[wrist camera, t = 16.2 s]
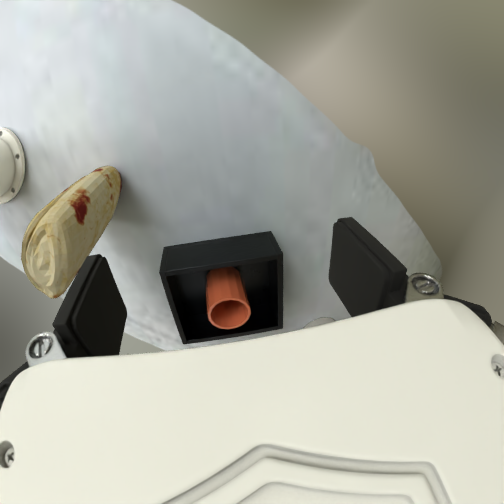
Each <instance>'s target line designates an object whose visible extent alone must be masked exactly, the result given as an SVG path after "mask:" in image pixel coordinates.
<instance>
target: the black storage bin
mask: <svg viewBox="0 0 504 504" xmlns="http://www.w3.org/2000/svg"><path fill="white" fill-rule="evenodd" d="M225 267H234V268H236V269H237V270H238V271H239V272H240V274H241V276H242V278H243V282H244V286H245V290H246V294H247V298H248V301H249V305H250V311H251V314H250V317H249V319H248V320H247V321H246V322H245V323H244V324H243V325H241V326H239V327H237V328H233V329H221V328H218V327H216V326H214V325H213V324H212V323H211V322H210V321H209V318H208V313H207V301H206V288H205V280H206V276H207V274H208V273H209V272H210V271H211V270H212V269H218V268H225ZM159 273H160V276H161V280H162V283H163V286H164V290H165V293H166V296H167V299H168V302H169V305H170V308H171V311H172V314H173V317H174V320H175V323H176V326H177V329H178V331H179V334H180V337H181V340H182V342H183V344H190V343H198V342H205V341H212V340H219V339H226V338H232V337H238V336H244V335H250V334H256V333H261V332H267V331H272V330H277V329H283V253H282V251H281V249H280V247H279V245H278V243H277V242H276V240H275V238H274V236H273V234H272V232H271V231H269V232H262V233H255V234H248V235H241V236H234V237H227V238H220V239H214V240H207V241H200V242H194V243H187V244H181V245H174V246H168V247H164V249H163V254H162V260H161V266H160V271H159Z"/></svg>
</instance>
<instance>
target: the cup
mask: <svg viewBox="0 0 504 504" xmlns="http://www.w3.org/2000/svg"><path fill="white" fill-rule="evenodd" d="M205 288H206V301H207V313H208V318H209V321H210V322H211V323H212V324H213V325H214V326H216V327H218V328H221V329H233V328H237V327H239V326H241V325H243V324H244V323H245V322H246V321H247V320H248V319H249V317H250V314H251V311H250V305H249V301H248V298H247V294H246V290H245V286H244V282H243V278H242V276H241V274H240V272H239V271H238V270H237V269H236V268H234V267H225V268H218V269H212V270H211V271H210V272H209V273H208V274H207V276H206V280H205Z"/></svg>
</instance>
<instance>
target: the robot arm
mask: <svg viewBox="0 0 504 504" xmlns="http://www.w3.org/2000/svg"><path fill="white" fill-rule="evenodd" d="M24 175H25V158H24V152H23V149H22V145H21V143H20V141H19V139H18V138H17V136H16V135H15V134H14V133H13V132H12V131H11V130H9V129H7V128H3V127H0V204H4V203H7V202H8V201H10V200H11V199H13V198H14V197H15V196H16V194H17V193H18V192H19V190H20V188H21V186H22V183H23V179H24ZM406 272H407V268H406V267H405V266H404V265H403V264H402V263H401V262H400V261H399V260H398V259H397V258H396V257H395V256H394V255H393V254H391V253H390V252H389V251H388V250H387V249H386V248H385V247H384V246H383V245H382V244H381V243H380V242H379V241H378V240H377V239H376V238H375V237H373V236H372V235H371V234H370V233H369V232H368V231H367V230H366V229H365V228H364V227H362V226H361V225H360V224H359V223H358V222H357V221H356V220H355V219H353V218H352V217H349V218H340V219H338V221H337V222H336V223H334V226H333V238H332V249H331V259H330V269H329V281H330V284H331V286H332V287H333V289H334V290H335V292H336V293H337V295H338V296H339V298H340V300H341V301H342V303H343V304H344V306H345V307H346V309H347V311H348V312H349V314H350V315H351V318H347V319H343V320H339V321H335V322H331V323H327V324H323V325H318V326H314V327H309V328H305V329H300V330H296V331H291V332H286V333H281V334H276V335H271V336H266V337H261V338H255V339H249V340H244V341H238V342H231V343H225V344H218V345H211V346H204V347H197V348H189V349H180V350H171V351H161V352H152V353H141V354H128V355H119V352H120V346H121V341H122V336H123V332H124V327H125V322H126V318H127V310H126V307H125V304H124V302H123V300H122V297H121V295H120V293H119V290H118V288H117V285H116V283H115V280H114V278H113V275H112V272H111V270H110V267H109V265H108V262H107V259H106V258H105V257H102V256H101V255H100V254H98V255H92V256H87V257H86V259H85V261H84V262H83V264H82V266H81V268H80V270H79V271H78V273H77V275H76V277H75V279H74V281H73V283H72V285H71V287H70V289H69V290H68V292H67V294H66V296H65V299H64V301H63V303H62V305H61V307H60V309H59V311H58V313H57V315H56V318H55V320H54V322H53V327H54V328H55V330H54V332H53V333H52V332H42V333H40V334H37V335H36V336H35V337H34V338H32V339H31V341H30V342H29V344H28V345H27V347H26V358H27V362H26V363H25V364H23V365H22V366H21V367H20V368H18V369H17V370H16V371H14V372H13V373H12V374H11V375H9V376H8V377H7V378H6V379H4V380H3V381H2V382H1V383H0V504H504V326H503V325H501V324H500V323H498V322H496V321H495V322H494V324H493V323H492V320H491V316H490V315H489V313H488V312H487V311H486V309H485V308H484V307H482V306H480V305H477V304H473V303H470V302H467V301H464V300H461V299H457V298H454V297H451V296H448V295H444V293H443V287H442V284H441V283H440V281H439V280H437V279H436V278H435V277H433V276H431V275H429V274H426V273H415V274H412V275H411V276H410V277H408V276H407V275H406Z"/></svg>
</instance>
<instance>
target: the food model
mask: <svg viewBox="0 0 504 504" xmlns="http://www.w3.org/2000/svg"><path fill="white" fill-rule="evenodd" d="M121 188H122V184H121V176H120V173H119V172H118V170H117V169H115V168H114V167H112V166H104V167H100V168H98V169H96V170H94V171H93V172H91V173H90V174H89V175H87V176H84V177H83V178H81V179H79V180H78V181H77V182H75V183H74V184H73V185H71V186H70V187H69V188H67V189H66V190H64V191H63V192H62V193H61V194H59V195H58V196H57V197H56V198H55V199H53V200H52V201H51V202H50V203H49V204H48V205H47V206H45V207H44V208H43V209H42V210H41V211H39V212H38V213H37V214H36V215H35V216H34V218H33V219H32V221H31V222H30V224H29V225H28V227H27V230H26V232H25V235H24V238H23V242H22V254H21V260H22V264H23V267H24V271H25V273H26V275H27V277H28V279H29V280H30V281H31V283H32V284H33V285H34V286H35V287H36V288H37V289H38V290H39V291H42V292H43V293H44V294H46V295H47V296H48V297H50V298H57V297H59V296H61V295H62V294H63V293H64V292H65V291H66V289H67V288H68V287H69V285H70V284H71V282H72V281H73V279H74V278H75V276H76V275H77V273H78V271H79V270H80V268H81V266H82V264H83V262H84V261H85V259H86V257H87V256H89V254H90V252H91V251H92V249H93V248H94V246H95V244H96V243H97V241H98V240H99V238H100V237H101V235H102V234H103V232H104V230H105V228H106V227H107V225H108V223H109V222H110V220H111V218H112V217H113V214H114V211H115V208H116V205H117V202H118V199H119V196H120V192H121Z"/></svg>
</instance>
